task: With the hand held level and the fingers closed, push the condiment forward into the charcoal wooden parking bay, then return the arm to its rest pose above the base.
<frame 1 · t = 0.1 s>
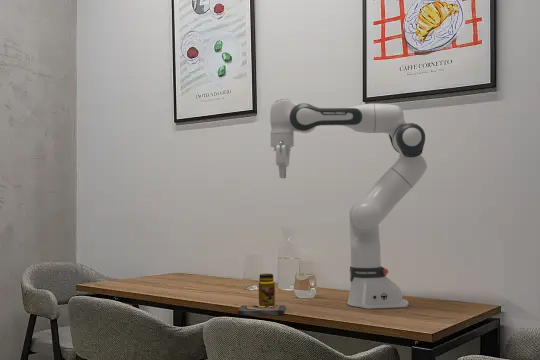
hand: (282, 178, 237), 48 cm above the table, tool pointing down, fingers open, 8 cm apart
condiment: (265, 306, 234), on the table
parking bay: (262, 311, 223), on the table
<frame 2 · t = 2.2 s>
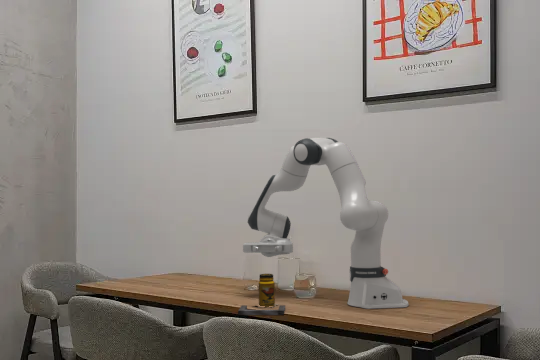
hand: (266, 249, 245), 20 cm above the table, tool horizontal, fingers open, 7 cm apart
nothing on the table moved.
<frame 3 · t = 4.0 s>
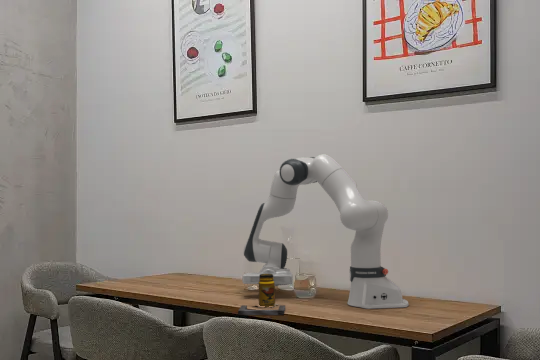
hand: (266, 281, 244), 8 cm above the table, tool horizontal, fingers closed
nothing on the table moved.
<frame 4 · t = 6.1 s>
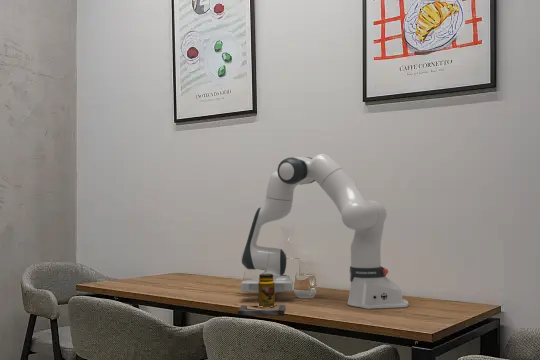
hand: (265, 289, 236), 6 cm above the table, tool horizontal, fingers closed
condiment: (264, 306, 234), on the table, touching gripper
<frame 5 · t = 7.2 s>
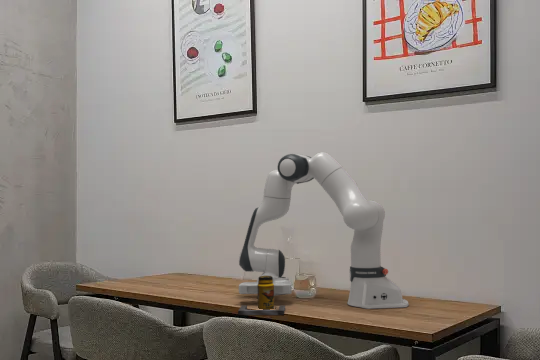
hand: (263, 291, 230), 6 cm above the table, tool horizontal, fingers closed
condiment: (263, 309, 227), on the table, touching gripper
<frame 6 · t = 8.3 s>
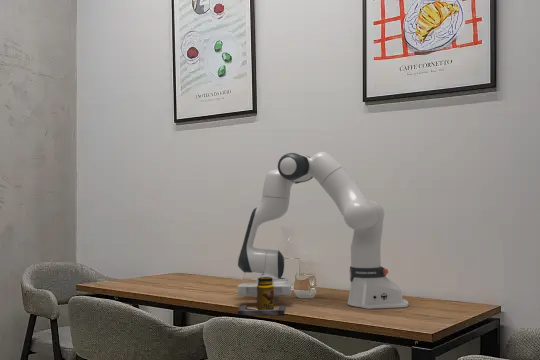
hand: (262, 292, 227), 6 cm above the table, tool horizontal, fingers closed
condiment: (263, 311, 225), on the table, touching gripper
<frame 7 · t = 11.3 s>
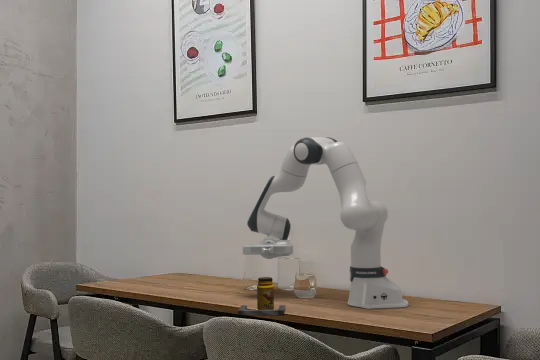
hand: (266, 251, 243), 20 cm above the table, tool horizontal, fingers closed
condiment: (263, 311, 225), on the table
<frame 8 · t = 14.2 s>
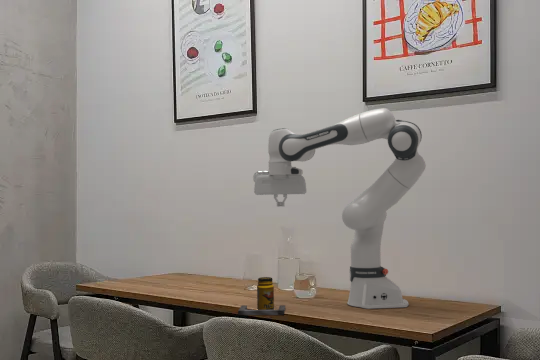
hand: (280, 206, 241), 37 cm above the table, tool pointing down, fingers closed
nothing on the table moved.
at the end: condiment inside the target area (1.8 cm from its centre), on the table; condiment tilted 0°; the gripper is holding nothing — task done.
